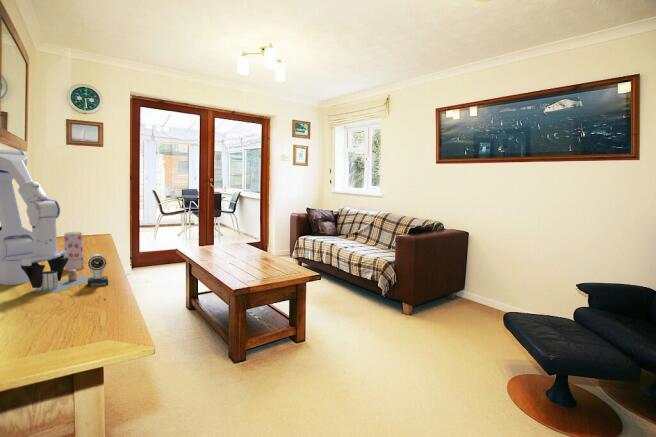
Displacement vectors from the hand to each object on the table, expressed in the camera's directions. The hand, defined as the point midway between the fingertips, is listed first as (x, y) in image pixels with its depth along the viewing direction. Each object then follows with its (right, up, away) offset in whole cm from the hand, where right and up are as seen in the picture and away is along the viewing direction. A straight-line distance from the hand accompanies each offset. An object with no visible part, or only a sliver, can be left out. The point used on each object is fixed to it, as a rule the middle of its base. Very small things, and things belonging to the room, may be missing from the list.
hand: (46, 284), depth 110 cm
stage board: (+1, -2, +7) cm, 7 cm away
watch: (+12, -3, +7) cm, 14 cm away
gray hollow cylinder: (0, -2, 0) cm, 2 cm away
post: (+1, -1, +10) cm, 10 cm away
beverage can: (-10, 0, +26) cm, 28 cm away
